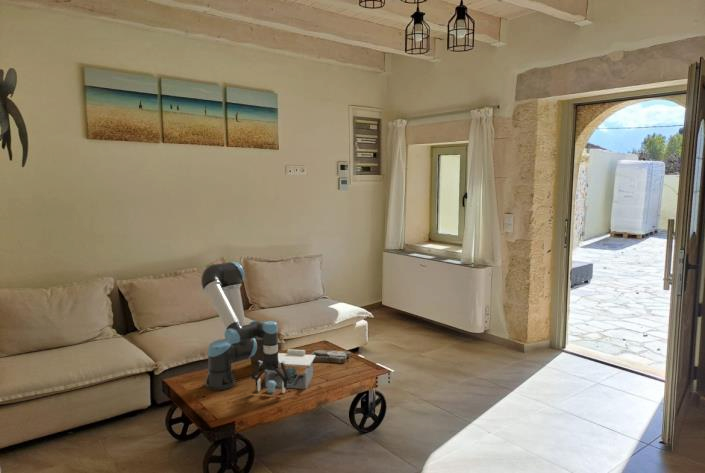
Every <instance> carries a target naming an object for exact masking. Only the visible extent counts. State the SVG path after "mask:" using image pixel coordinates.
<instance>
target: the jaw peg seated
mask: <svg viewBox="0 0 705 473" xmlns="http://www.w3.org/2000/svg"><path fill="white" fill-rule="evenodd" d="M286 369H287V371H288V374H289V376H290V378H293V379H295V374H296V373H297V369H296V366H288V367H287V368H286Z"/></svg>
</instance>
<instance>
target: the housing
mask: <svg viewBox="0 0 705 473" xmlns="http://www.w3.org/2000/svg"><path fill="white" fill-rule="evenodd" d="M313 365H314V362H312V363H311V365H310V367H307V366H306V368H305V370H304V371H303V374H301V373H295V379H293V378H290V380H289V381H287V387H286V388H285V389H299V390H300V389H301V390H307V389H308V387H309V384H310V383H311V381H312V379H313V378H314V375H313V374H314V370H313V369H314V368H313V367H314V366H313ZM282 373H283V372H282ZM283 374H284V373H283ZM270 380H274V381H275V382H276V386H275V388H280V389H282V381H283V380H282V379H281V377H280V376H279V375H278V373H277V372H275V370H273V371H272V370H267V369H266V370H265V371H264V386H265V387H266V383H267V381H270ZM266 388H267V387H266Z"/></svg>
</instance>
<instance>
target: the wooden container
mask: <svg viewBox="0 0 705 473" xmlns="http://www.w3.org/2000/svg"><path fill="white" fill-rule="evenodd" d="M255 339H256V342H257V350H256V353H255V355H254V356H252V357H250V366H251V368H252V369H254V370H255V369H256V367H257V362H258V361H259V360H261V361H263V353H264V352H263V339H262V338H259V337H257V338H255ZM263 368H264V365H263V364H262V365H260V368H259V370H258V371H262V370H263Z"/></svg>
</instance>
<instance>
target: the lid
mask: <svg viewBox="0 0 705 473" xmlns="http://www.w3.org/2000/svg"><path fill="white" fill-rule="evenodd" d="M315 357H316V355H309V354H306V349H292V348H291V349H290V348H288V349H287V353H283V352H282V353H280V352H278V361H279V362H282V361H284V362H285V366H288V367H306V368H307V367H310V365H311V363H312V362H313V360H314V358H315ZM313 363H314V362H313Z"/></svg>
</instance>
